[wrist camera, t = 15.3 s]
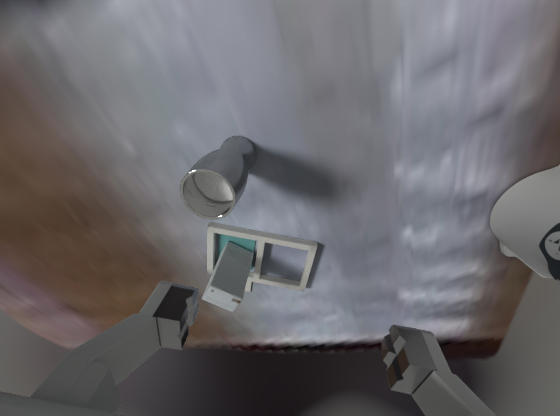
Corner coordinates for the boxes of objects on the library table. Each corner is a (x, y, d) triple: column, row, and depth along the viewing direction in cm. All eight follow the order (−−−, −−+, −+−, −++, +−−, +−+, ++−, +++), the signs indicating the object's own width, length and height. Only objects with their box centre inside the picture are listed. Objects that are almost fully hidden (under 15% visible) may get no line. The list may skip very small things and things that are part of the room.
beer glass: (261, 173, 44) (241, 221, 31) (221, 174, 44) (185, 221, 32) (257, 131, 40) (232, 166, 27) (214, 133, 41) (170, 167, 28)
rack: (317, 242, 50) (317, 246, 48) (300, 300, 59) (299, 306, 57) (210, 222, 50) (207, 226, 49) (209, 283, 59) (207, 288, 57)
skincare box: (220, 253, 53) (198, 300, 43) (228, 238, 51) (208, 284, 41) (246, 265, 55) (231, 314, 44) (256, 252, 52) (242, 300, 42)
